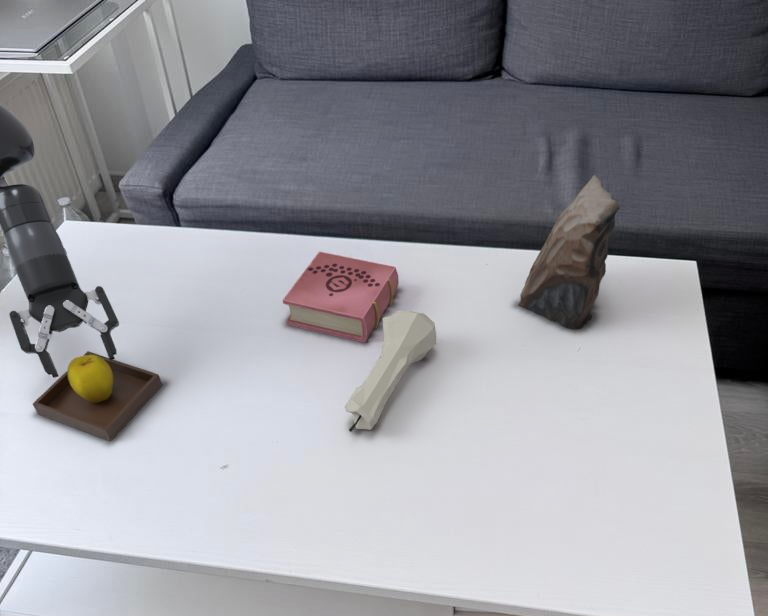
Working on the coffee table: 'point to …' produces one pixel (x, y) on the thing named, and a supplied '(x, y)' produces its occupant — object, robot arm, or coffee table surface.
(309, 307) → the book
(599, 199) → the brown rock
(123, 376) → the tray
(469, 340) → the coffee table surface
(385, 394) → the faceted club
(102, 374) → the apple
